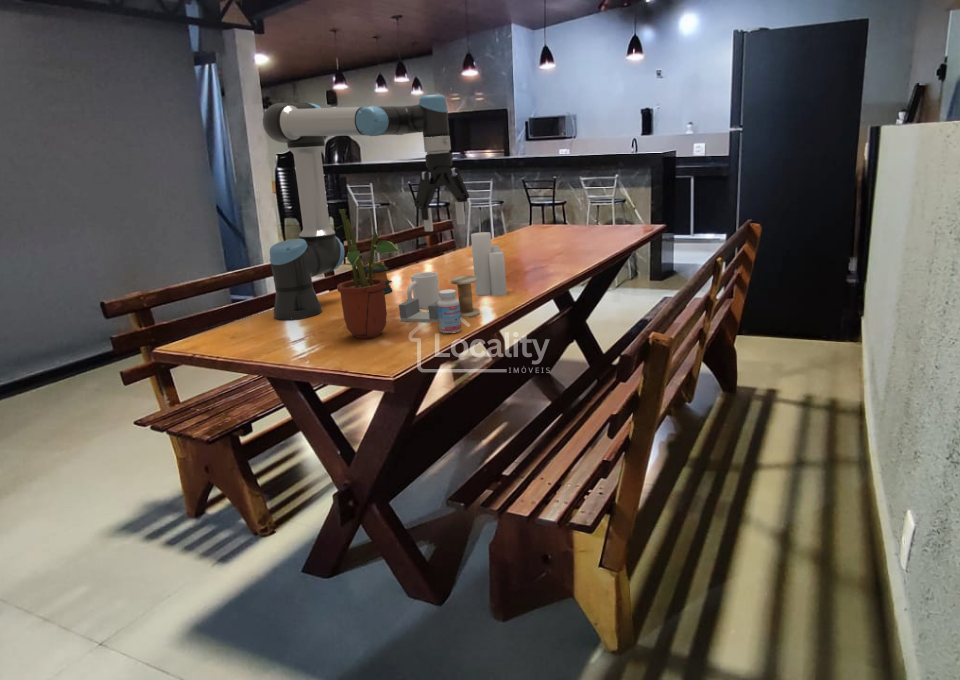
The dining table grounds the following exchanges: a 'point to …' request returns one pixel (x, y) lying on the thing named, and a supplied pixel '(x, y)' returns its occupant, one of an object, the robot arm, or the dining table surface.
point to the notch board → (418, 312)
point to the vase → (488, 266)
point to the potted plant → (364, 289)
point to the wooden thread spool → (465, 295)
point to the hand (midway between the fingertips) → (445, 227)
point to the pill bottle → (449, 312)
